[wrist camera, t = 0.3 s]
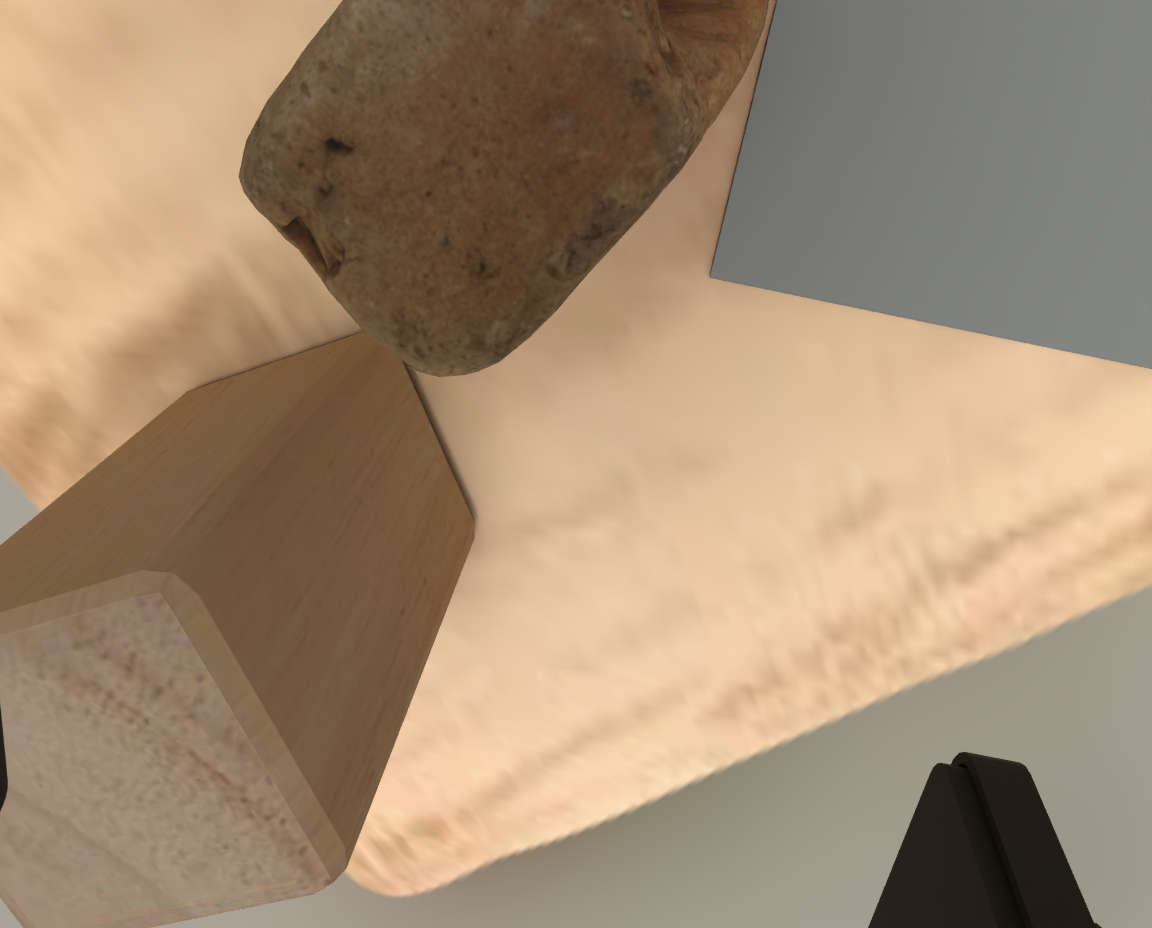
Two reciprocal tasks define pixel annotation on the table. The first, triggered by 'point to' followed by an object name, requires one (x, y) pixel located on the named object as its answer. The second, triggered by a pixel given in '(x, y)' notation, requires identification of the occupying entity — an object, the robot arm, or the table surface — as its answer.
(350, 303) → the brown rounded lump
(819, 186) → the mat
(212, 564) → the wooden block
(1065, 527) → the table surface
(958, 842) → the robot arm
